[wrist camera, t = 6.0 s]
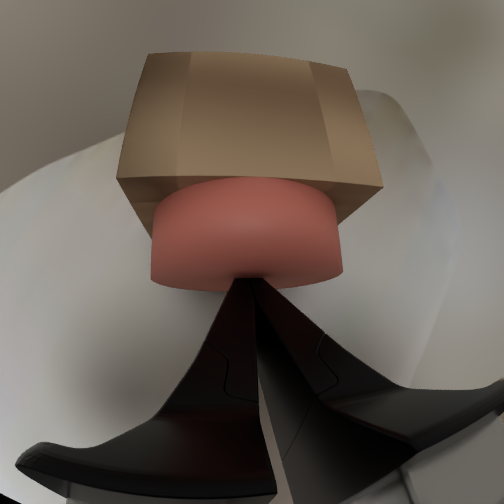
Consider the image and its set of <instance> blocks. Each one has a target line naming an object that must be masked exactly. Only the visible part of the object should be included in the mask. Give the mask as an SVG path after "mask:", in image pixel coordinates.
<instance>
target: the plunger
mask: <svg viewBox="0 0 504 504" xmlns="http://www.w3.org/2000/svg"><path fill="white" fill-rule="evenodd" d="M342 272H343V267H342V258H341V249H340V240H339V232H338V225H337V218H336V211H335V205H334V203H333V201H332V200H331V199H330V198H329V196H327V195H326V194H325V193H323V192H322V191H320V190H318V189H316V188H314V187H311V186H308V185H306V184H303V183H299V182H295V181H291V180H285V179H279V178H269V177H233V178H223V179H216V180H210V181H206V182H201V183H197V184H194V185H191V186H188V187H185V188H182V189H180V190H178V191H176V192H174V193H172V194H170V195H168V196H167V197H165V198H164V199H163V200H162V201H161V202H160V203H159V204H158V205H157V206H156V208H155V210H154V218H153V232H152V251H151V280H152V281H154V282H155V283H158V284H160V285H164V286H168V287H173V288H179V289H188V290H199V291H228V290H229V288H230V286H231V284H232V282H233V280H234V278H248V279H249V278H264V279H265V280H266V281H267V282H268V283H269V284H270V285H271V286H273V287H274V288H275V289H282V288H291V287H298V286H304V285H310V284H314V283H319V282H323V281H326V280H330V279H332V278H335V277H337V276H339V275H340V274H341V273H342Z"/></svg>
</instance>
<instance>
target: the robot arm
mask: <svg viewBox="0 0 504 504" xmlns="http://www.w3.org/2000/svg"><path fill="white" fill-rule="evenodd" d="M258 375H259V378H260V382H261V386H262V390H263V394H264V398H265V401H266V405H267V409H268V413H269V416H270V420H271V424H272V427H273V431H274V435H275V438H276V442H277V446H278V449H279V453H280V457H281V460H282V461H283V462H282V464H283V468H284V471H285V475H286V478H287V481H288V485H289V488H290V492H291V495H292V499H293V502H294V504H504V424H503V422H502V421H501V419H500V417H499V416H500V415H501V414H502V413H503V412H504V380H499V381H496V382H494V383H493V384H491V385H490V386H487V387H484V388H480V389H474V390H427V389H410V388H405V387H402V386H399V385H397V384H395V383H393V382H392V381H390V380H388V379H387V378H385V377H384V376H382V375H381V374H380V373H378V372H377V371H375V370H374V369H372V368H371V367H369V366H368V365H366V364H365V363H363V362H362V361H361V360H359V359H358V358H356V357H355V356H354V355H352V354H351V353H349V352H348V351H347V350H345V349H344V348H343V347H342V346H341V345H339V344H338V343H337V342H336V341H334V340H333V339H332V338H331V337H330V336H329V335H327V334H325V332H324V331H323V330H322V329H320V328H319V327H318V326H317V325H316V324H315V323H314V322H312V321H311V320H310V319H309V318H308V317H307V316H306V315H304V314H303V313H302V312H301V311H300V310H299V309H298V308H296V307H295V306H294V305H293V304H292V303H291V302H290V301H288V300H287V299H286V298H285V297H284V296H283V295H282V294H280V293H279V292H278V291H277V290H276V289H275V288H274V287H273V286H271V285H270V284H269V283H268V282H267V281H266V280H265V279H264V278H249V279H248V278H234V280H233V282H232V284H231V286H230V288H229V290H228V292H227V294H226V296H225V298H224V301H223V303H222V305H221V307H220V309H219V311H218V313H217V315H216V317H215V319H214V321H213V324H212V326H211V328H210V330H209V332H208V334H207V336H206V338H205V341H204V342H203V344H202V346H201V348H200V350H199V352H198V354H197V356H196V358H195V360H194V362H193V363H192V365H191V366H190V368H189V369H188V371H187V372H186V374H185V375H184V377H183V378H182V380H181V381H180V382H179V384H178V385H177V387H176V388H175V389H174V391H173V392H172V394H171V395H170V396H169V398H168V399H167V401H166V402H165V403H164V405H163V406H162V407H161V409H160V410H159V411H158V412H157V413H156V414H155V415H154V416H153V417H152V418H151V419H149V420H148V421H146V422H145V423H143V424H141V425H139V426H137V427H135V428H133V429H131V430H129V431H127V432H125V433H123V434H121V435H119V436H117V437H115V438H113V439H111V440H109V441H107V442H105V443H103V444H100V445H98V446H95V447H90V448H71V447H66V446H62V445H58V444H54V443H50V442H40V443H37V444H35V445H34V446H32V447H30V448H29V449H27V450H26V451H25V452H24V453H22V454H21V456H20V457H19V458H18V460H17V461H16V463H15V466H16V468H17V469H18V470H19V471H20V472H22V473H23V474H25V475H26V476H28V477H29V478H31V479H33V480H34V481H36V482H38V483H39V484H41V485H43V486H44V487H46V488H48V489H50V490H51V491H53V492H55V493H57V494H59V495H61V496H63V497H65V498H67V501H66V504H269V503H270V501H271V500H272V499H273V498H274V497H275V496H276V495H277V485H276V480H275V476H274V472H273V469H272V465H271V461H270V458H269V454H268V450H267V446H266V443H265V439H264V435H263V431H262V427H261V423H260V416H259V404H258V403H259V397H258ZM0 504H21V503H19V502H17V501H15V500H13V499H11V498H9V497H7V496H5V495H3V494H1V493H0Z"/></svg>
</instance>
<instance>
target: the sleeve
mask: <svg viewBox="0 0 504 504" xmlns="http://www.w3.org/2000/svg"><path fill="white" fill-rule="evenodd" d="M233 177H269V178H279V179H285V180H291V181H295V182H299V183H303V184H306V185H308V186H311V187H314V188H316V189H318V190H320V191H322V192H323V193H325V194H326V195H327V196H329V198H330V199H331V200H332V201H333V203H334V205H335V211H336V218H337V225H339V224H340V223H341V222H342V221H343V220H345V219H346V218H347V217H348V216H349V215H351V214H352V213H353V212H354V211H356V210H357V209H358V208H359V207H360V206H362V205H363V204H364V203H365V202H366V201H368V200H369V199H370V198H371V197H372V196H373V195H375V194H376V193H377V192H378V191H379V190H381V189H382V188H383V187H384V186H383V182H382V178H381V174H380V170H379V166H378V162H377V158H376V155H375V151H374V148H373V144H372V141H371V137H370V134H369V131H368V127H367V124H366V121H365V118H364V115H363V112H362V109H361V106H360V103H359V100H358V97H357V95H356V92H355V89H354V87H353V84H352V81H351V79H350V76H349V74H348V71H347V69H343V68H339V67H335V66H330V65H326V64H321V63H315V62H310V61H304V60H298V59H292V58H284V57H277V56H267V55H259V54H246V53H231V52H171V53H154V54H148V56H147V59H146V62H145V65H144V68H143V71H142V74H141V77H140V80H139V83H138V87H137V90H136V93H135V97H134V100H133V104H132V108H131V111H130V115H129V119H128V124H127V128H126V132H125V136H124V140H123V145H122V150H121V154H120V159H119V165H118V170H117V176H116V179H117V181H118V182H119V184H120V186H121V188H122V190H123V191H124V193H125V195H126V197H127V198H128V200H129V202H130V204H131V205H132V207H133V209H134V211H135V212H136V214H137V216H138V217H139V219H140V221H141V222H142V224H143V226H144V227H145V229H146V231H147V232H148V234H149V236H150V237H151V239H152V232H153V218H154V210H155V208H156V206H157V205H158V204H159V203H160V202H161V201H162V200H163V199H164V198H165V197H167V196H168V195H170V194H172V193H174V192H176V191H178V190H180V189H182V188H185V187H188V186H191V185H194V184H197V183H201V182H206V181H210V180H216V179H223V178H233Z"/></svg>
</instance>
